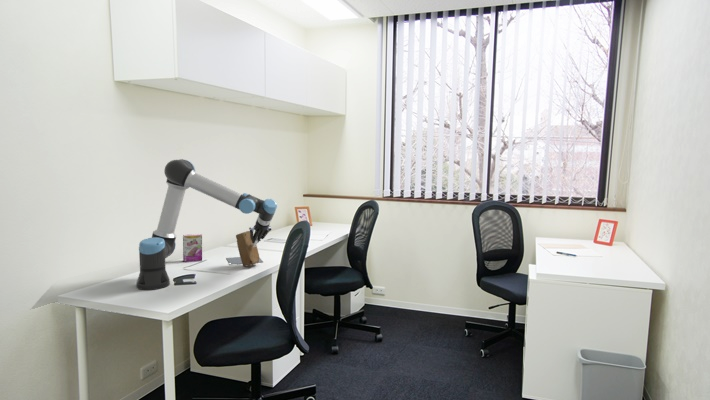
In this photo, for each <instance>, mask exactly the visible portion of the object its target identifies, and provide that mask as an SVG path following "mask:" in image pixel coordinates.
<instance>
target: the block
mask: <svg viewBox="0 0 710 400" xmlns="http://www.w3.org/2000/svg"><path fill="white" fill-rule="evenodd" d="M235 238H236V244H237V248H238V249H237V250H238V252H239V257H240V258H241V261H242V264H241V265H242V266H243V267H249V266H253V265H256V264H259V257H260V253H259V250H258V245H256V247H253V245H252V240H251V238H250V230H248V231H247V230H246V231H244V232H240V233H237V234H236V235H235Z"/></svg>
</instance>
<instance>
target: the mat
mask: <svg viewBox="0 0 710 400" xmlns="http://www.w3.org/2000/svg"><path fill="white" fill-rule="evenodd" d="M226 260H227V263H231V264H237V265H243V264H242V261H241V258H240V256H234V257H226ZM259 263H264V260H262V258H261V257H260V256H259ZM259 263H258V264H259Z"/></svg>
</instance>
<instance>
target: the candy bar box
mask: <svg viewBox="0 0 710 400" xmlns="http://www.w3.org/2000/svg"><path fill="white" fill-rule="evenodd" d="M182 235H183V236H182V257H183V258H182V259H183V261H182V262H184V263H185V262H188V263H189V262H190V263H191V262H202V261H203V234H202V233H193V234H191V233H190V234H182Z"/></svg>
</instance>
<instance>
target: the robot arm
mask: <svg viewBox="0 0 710 400" xmlns="http://www.w3.org/2000/svg"><path fill="white" fill-rule="evenodd" d="M164 176H165V177H166V184H167V185H168V186H167V191H166V193H165V197H164V202H163V205H162V210H161V213H160V216H159V221H158V224H157V228H156V229H155V230H153V231H152V234H151V235H152V236H151V237H148V238H144V239H142V240H140V242H139V244H138V253H139V255H138V256H139V273H138V277H137V280H136V288H137V290H138V289H139V290H144V291H145V290H146V291H150V290H151V291H152V290H159V289H164V288H167V287H168V286H170V285H171V283H170V282H171V281H170V277H169V275H168V272H167V270H166V259H167V258H168V257H170V256H171V255H172V254H174V251H175V249H176V238H177V235H176V234H175V230H176V227H177V223H178V220H179V216H180V212H181V208H182V204H183V201H184V198H185V194H186V191H187V189H189V188H191V189H193V190H195V191H197V192H200V193H202V194H204V195H206V196H209V197H210V198H212V199H215V200H217V201H220V202H221V203H224V204H226V205H229V206H230V207H233V208H235V209H237V210H239V211H240V212H241V213H243V214H251V213H253V212H254V213H256V214H258V216H257V218H256V221H255V224H254V226H253V227H252V226H251V227H248V229H249V230H248V231H250V238H251V240H252V245H253V247H256V245H257V244H258V243H259V242H261V241H262V240H264V239H265V237H266V236H267V235H268V234H269V233H270V232H271V231H272V226H271V225H270V224H271V222H272V220H273V217H274V215H275V213H276V211H277V208H278V204H277V202H276V201H275V200H274V199H272V198H267V199H265V200H264V199H263V200H262V199H261V198H258V197H256V196H254V195H252V194H250V193H249V194H248V193H247V192H243V193H242V194H241V193H240V192H237V191H235V190H233V189H231V188H229V187H227V186H224V185H222V184H220V183H218V182H216V181H214V180H212V179H209V178H207V177H205V176H203V175H201V174H198V173H196V168H195V166H194V164H193V163H192V162H191V161H189V160H187V159H183V158H180V159H173V160H170V161H169V162H167V164H166V165H165V166H164ZM257 246H258V245H257Z"/></svg>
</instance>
